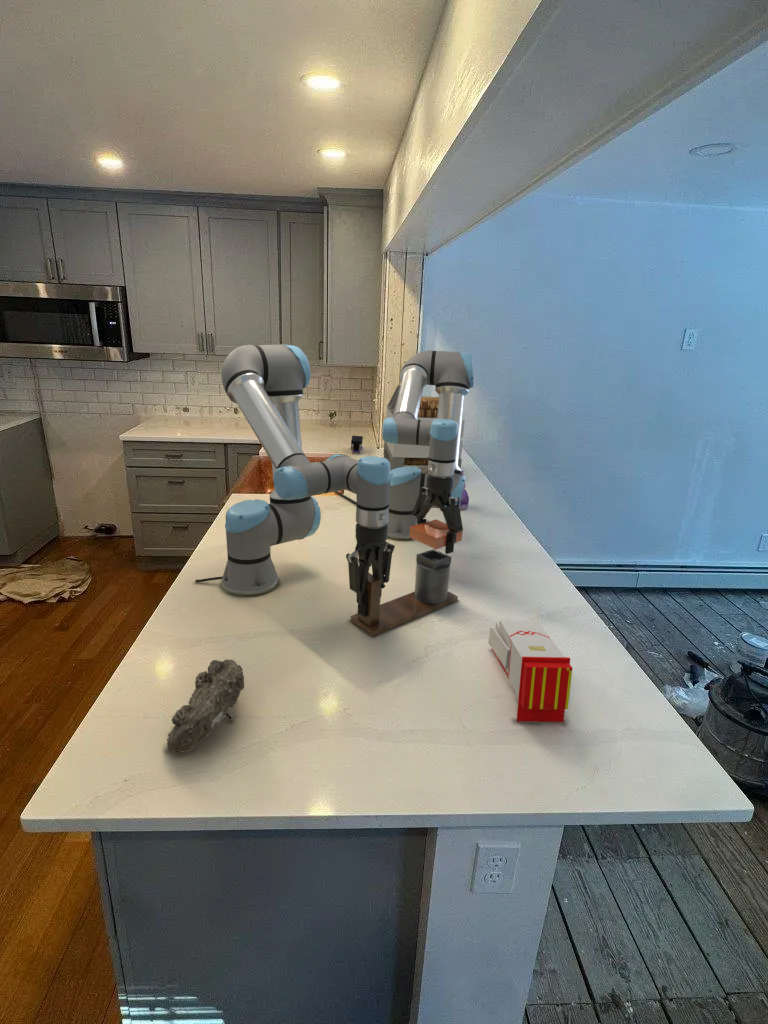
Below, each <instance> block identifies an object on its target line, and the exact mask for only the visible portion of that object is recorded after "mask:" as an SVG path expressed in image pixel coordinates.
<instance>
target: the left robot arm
mask: <svg viewBox="0 0 768 1024" xmlns="http://www.w3.org/2000/svg"><path fill="white" fill-rule="evenodd" d="M220 375H221V376H220V377H221V385H222V387H223V390H224V392H225V394H226V395H227V397H228V399H229V400H230V402H232V403H234V404H237V406H238V407H239V409H240V411H241V413H242V414H243V416H244V418H245V420H246V422H247V423H248V425H249V426H250V428H251V429H252V431H253V433H254V435H255V436H256V438H257V440H258V441H259V443H260V445H261V446H262V448H263V450H264V452H265V453H266V455H267V457H268V458H269V460H270V461H271V466H272V467H271V469H272V479H273V491H272V492H271V493H270V494H269V495H268V497H269V502H267V501H266V500H263V499H246V500H243V501H239V502H236V503H234V504H233V505H231V506H230V507H229V508H228V509H227V511H226V513H225V523H224V529H225V538H226V539H225V541H226V555H227V561H226V564H225V567H224V571H223V573H222V576H215V577H214V576H213V577H207V578H200V579H195V581H194V582H195V583H204V582H209V581H210V582H211V581H219V580H221V584H222V589H223V590H224V591H225V592H227V593H228V594H232V595H235V596H241V597H253V596H258V595H263V594H266V593H269V592H270V591H272V590H274V589H275V588H276V587H277V586H278V584H279V577H278V576H279V575H278V573H277V570H276V567H275V564H274V562H273V560H272V557H271V547H273V546H276V545H282V544H285V543H289V542H294V541H297V540H298V541H300V540H304V539H306V538H308V537H311V536H313V535H315V534H316V532H317V531H318V530H319V528H320V524H321V520H322V516H321V508H320V507H321V506H319V502H318V501H317V499H316V498H315V496H318V495H324V494H330V493H335V492H336V491H337V492H340V491H348V492H350V493H352V494H355V495H356V501H355V502H356V504H355V505H356V507H355V522H356V524H355V540H356V545H355V548H354V551H353V552H351V553H346V554H345V559H346V560H347V565H348V582H349V585H348V586H349V590H351V591H352V592H354V593H355V594H356V600H355V601H356V603H357V613H359V614H361V615H362V616H364V617H367V610H368V592H367V591H366V585H367V579H368V573H370V567H371V572H372V573H371V574H372V575H374V576H376V577H377V578H379V579H381V595H380V599H381V598H382V592H383V590H382V589H385V587H386V584H387V583H389V581H390V574H391V568H392V567H391V566H392V557H393V553H394V551H395V547H396V545H395V544H392V543H390V542H388V541H387V540H388V538H387V536H388V525H387V523H388V513H389V494H390V480H391V475H390V462H389V461H388V460H387V459H385V458H384V456H376V455H368V456H367V455H366V456H362V457H360V458H359V459H356V458H353V457H351V456H349V455H346V454H340V453H335V454H332V455H331V456H329V457H327V458H326V460H322V461H314V462H313V461H312V462H311V461H310V459H309V458H308V457H307V455H306V454H305V452H304V451H303V447H302V446H303V445H302V433H301V420H300V408H299V401H300V400H301V399H302V397H303V396H304V389H305V388H306V387H308V385H309V384H310V380H311V375H312V374H311V367H310V362H309V360H308V357H307V355H306V353H304V352H303V350H302V349H301V348H300V347H298V346H296V345H291V344H283V343H281V344H245V345H240V346H238V347H236V348H234V349H233V350H232V351H230V353H228V355H227V356H226V358H225V360H224V361H223V364H222V368H221V374H220ZM385 583H386V584H385Z"/></svg>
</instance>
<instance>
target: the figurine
mask: <svg viewBox="0 0 768 1024" xmlns="http://www.w3.org/2000/svg"><path fill="white" fill-rule="evenodd" d="M461 470H462V469H461ZM461 476H464V477H465V470H464V469H463V470H462V475H461ZM466 486H467V485H466V481H465V482H464V487H463V491H462V496H461V500H460V505H459V508H460V511H461V510H465V509H467V508H468V507H469V502H470V496H469V494H468V491H467V490H466Z"/></svg>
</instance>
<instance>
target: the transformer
mask: <svg viewBox="0 0 768 1024" xmlns="http://www.w3.org/2000/svg"><path fill="white" fill-rule="evenodd" d="M400 385H401V384H398V385H397V386H396V388H395V390H394V392H393V394H392V395H391V398H390V400H389V402H388V404H387V405H386V413H385V414H386V415H385V418H391V417H393V413H394V409H395V405H396V401H397V397H398V393H399V389H400ZM438 401H439V396H422V397H421V402H420V407H419V413H418V418H417V420H430V421H434V420H437V413H438ZM464 429H465V419H464V418H462V424H461V436H460V447H459V458H458V467H459V468H460V469H461V470H462V461H463V460H462V453H463V442H464V441H463V440H462V439H463V438H464V431H465V430H464ZM383 458H385V459H387V460H388V461H389V462H390V471H391V470H393V469H396V468H400V467H405V466H406V467H417V466H418V467H428V460H429V446H421V445H408V444H394V443H387V442H384V441H383Z"/></svg>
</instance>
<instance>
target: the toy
mask: <svg viewBox="0 0 768 1024" xmlns="http://www.w3.org/2000/svg"><path fill="white" fill-rule="evenodd" d="M488 646H490V648H491V651H492V653H493V655H494V656H495V658H496V660H497V661H498V663H499V665H500V666H501V668H502V670H503V672H504V673H505V676H506V678H508V681H509V683H510V685H511V687H512V689H513V692H514V694H515V695H516V697H517V708H516V709H517V710H516V722H519V723H520V722H521V723H522V722H523V723H525V722H526V723H564V720H565V712H566V710H569V704H570V703H569V702H570V695H571V685H572V677H573V667H572V665H571V658H570V657H568V656H567V657H566V656H564V654H563V653H562V652H561V650H560V649H559V648H558V646H557V645H556V644H555V642H554V641H553V640H552V638H551V637H550V636H549V634H548V633H547V631H546V630H545V629H544V626H543V625H541V624H540V622H539V620H536V619H535V620H531V619H528V620H527V619H499V620H498V622H495V626H494V625H490V627H489V635H488Z"/></svg>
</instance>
